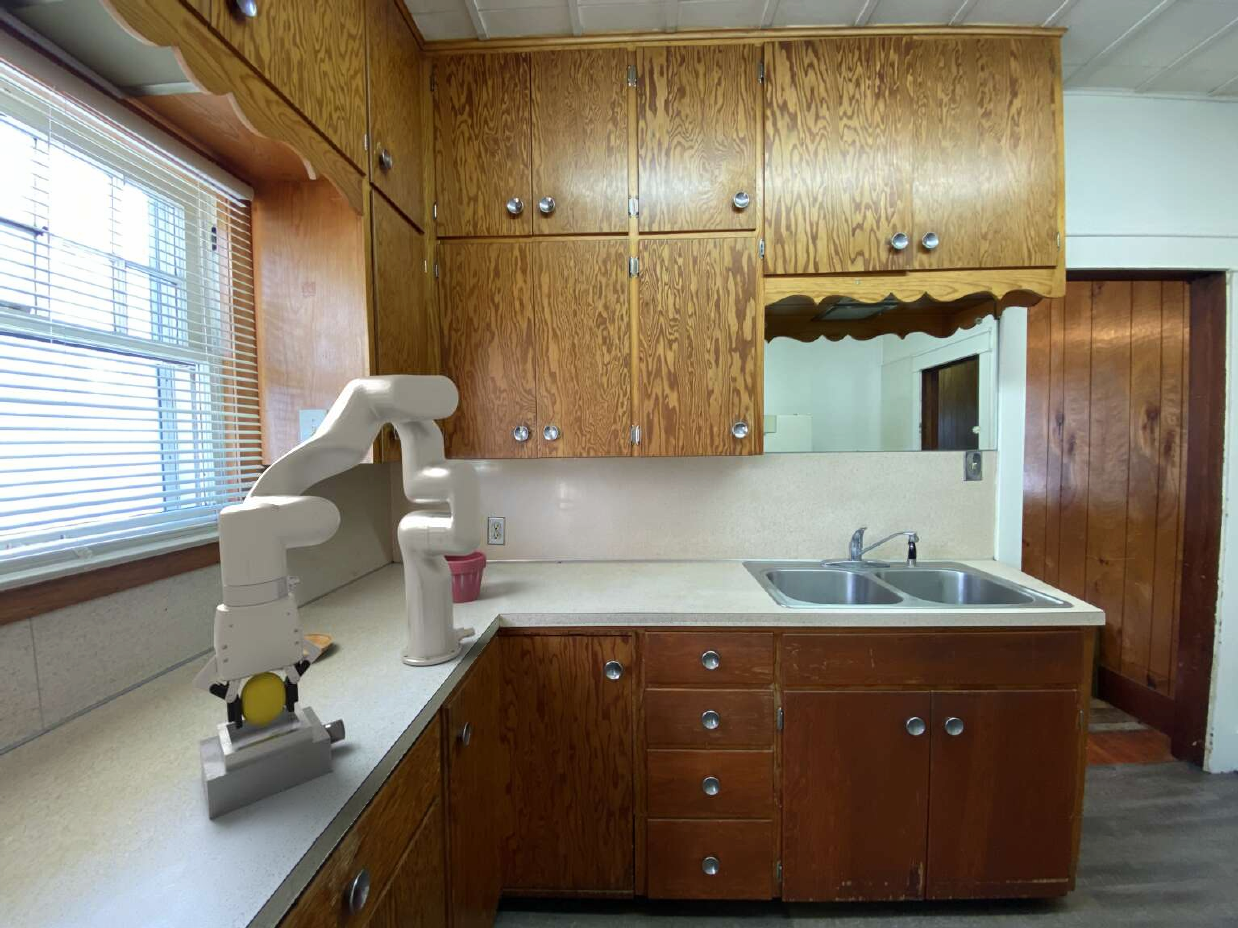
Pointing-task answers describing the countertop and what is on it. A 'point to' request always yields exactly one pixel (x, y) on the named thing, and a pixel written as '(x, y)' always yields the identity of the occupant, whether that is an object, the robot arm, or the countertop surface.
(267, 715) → the lemon
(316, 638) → the plant saucer
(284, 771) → the housing
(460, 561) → the plant pot
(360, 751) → the countertop surface
